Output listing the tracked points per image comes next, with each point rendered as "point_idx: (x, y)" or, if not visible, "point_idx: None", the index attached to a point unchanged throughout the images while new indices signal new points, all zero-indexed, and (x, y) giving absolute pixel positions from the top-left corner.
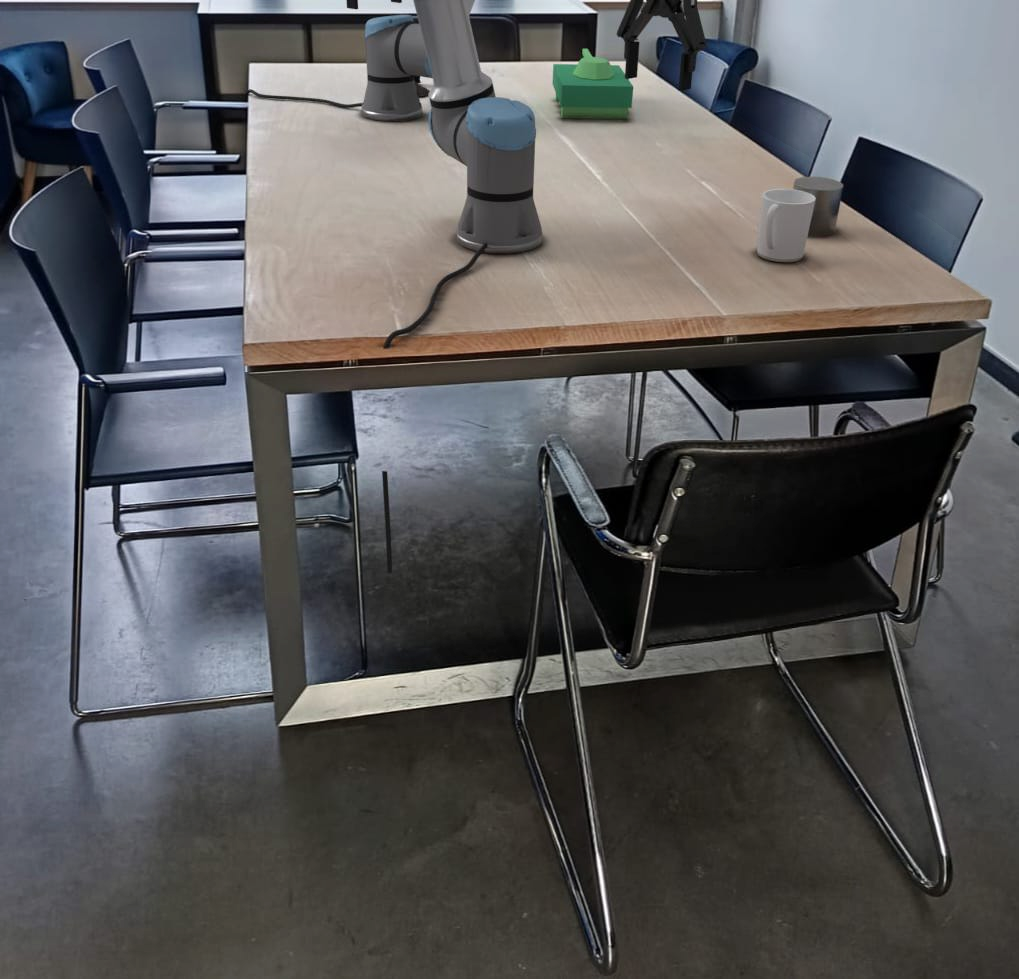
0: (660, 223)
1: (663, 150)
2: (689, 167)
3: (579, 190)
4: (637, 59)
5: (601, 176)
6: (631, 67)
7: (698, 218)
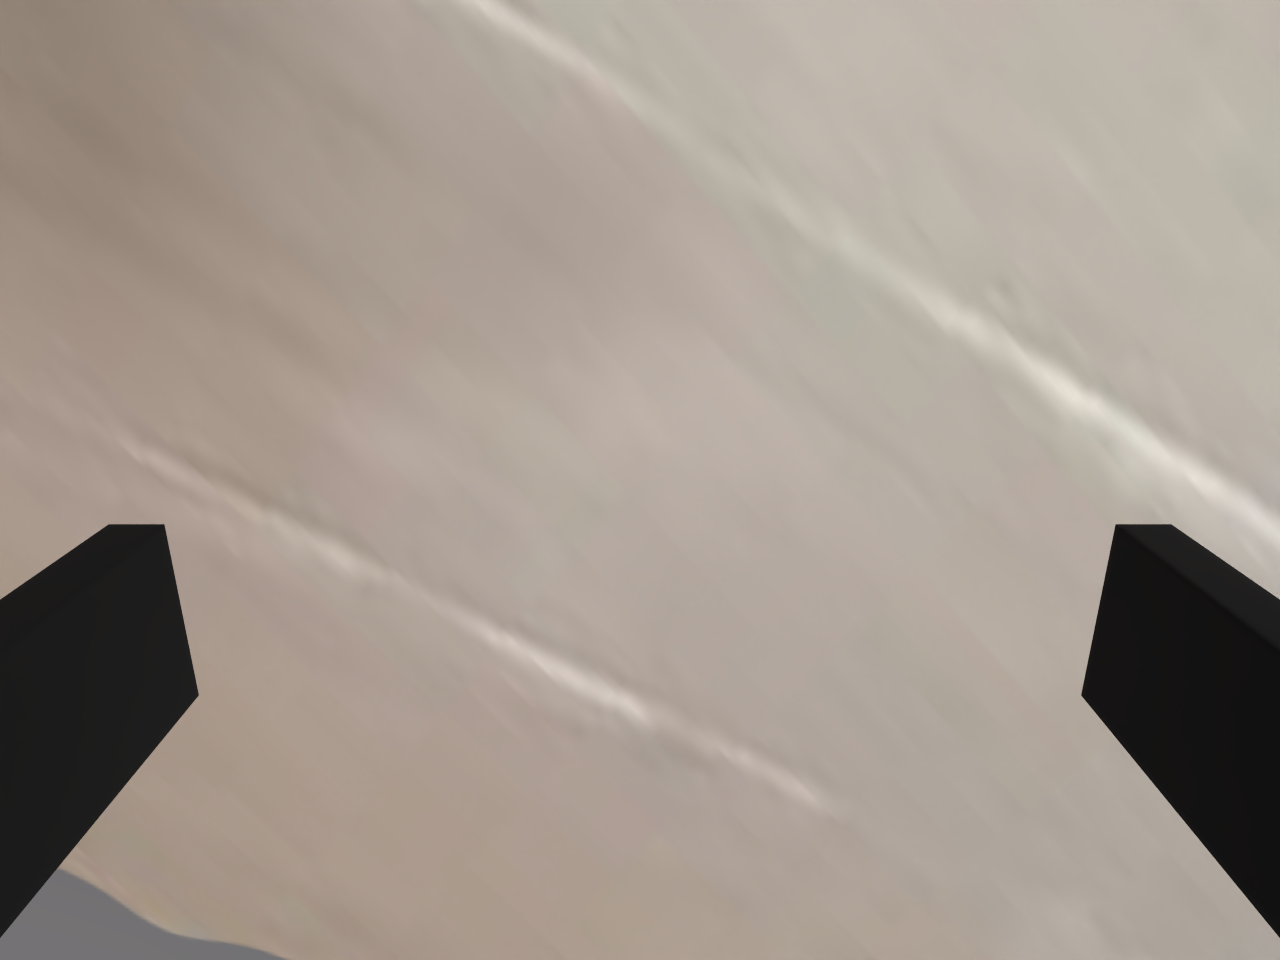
0: (257, 6)
1: (1097, 939)
2: (841, 836)
3: (991, 108)
4: (1228, 853)
5: (1065, 416)
6: (1188, 661)
7: (222, 256)
